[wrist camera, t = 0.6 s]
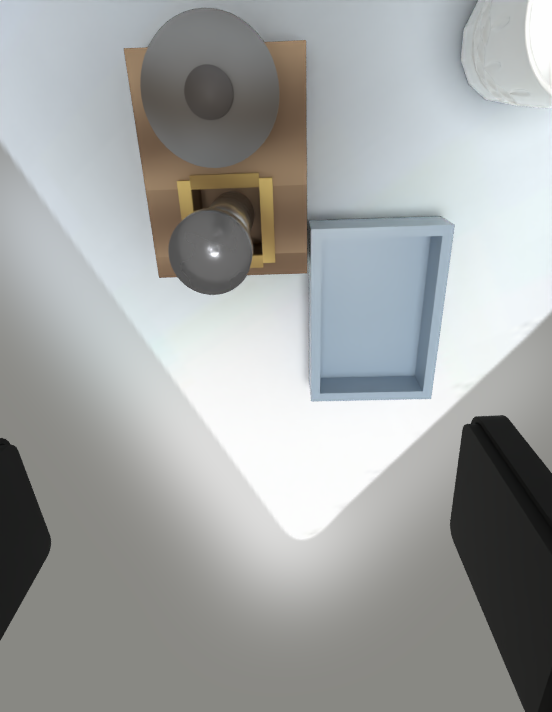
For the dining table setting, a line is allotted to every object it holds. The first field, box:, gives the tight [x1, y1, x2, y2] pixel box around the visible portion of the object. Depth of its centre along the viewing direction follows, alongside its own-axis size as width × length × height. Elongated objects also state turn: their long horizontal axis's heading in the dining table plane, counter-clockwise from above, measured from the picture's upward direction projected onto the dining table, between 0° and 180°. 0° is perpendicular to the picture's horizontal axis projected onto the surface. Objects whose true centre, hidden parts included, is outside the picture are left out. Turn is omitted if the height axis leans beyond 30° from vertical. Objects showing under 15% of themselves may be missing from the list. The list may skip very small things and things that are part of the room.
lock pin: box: [168, 191, 255, 295], centre depth 27 cm, size 4×4×11 cm
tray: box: [309, 216, 455, 401], centre depth 35 cm, size 13×9×3 cm
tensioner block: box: [124, 8, 307, 278], centre depth 28 cm, size 14×10×8 cm
